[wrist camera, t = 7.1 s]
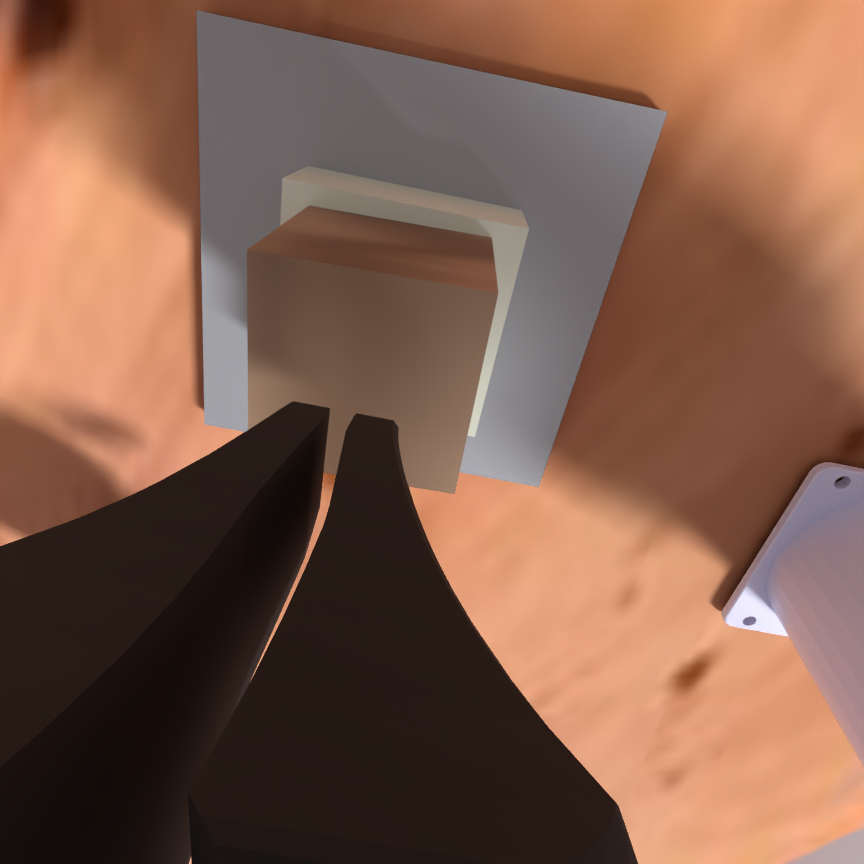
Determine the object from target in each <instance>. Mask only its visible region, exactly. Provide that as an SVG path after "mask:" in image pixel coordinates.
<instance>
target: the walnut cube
mask: <svg viewBox="0 0 864 864" xmlns="http://www.w3.org/2000/svg"><path fill="white" fill-rule="evenodd" d="M497 298H498V285H497V276H496V268H495V259H494V251H493V242H492V237H486V236H480V235H475V234H469V233H463V232H458V231H452V230H446V229H441V228H435V227H429V226H423V225H418V224H412V223H406V222H401V221H395V220H389V219H383V218H378V217H372V216H366V215H361V214H355V213H349V212H344V211H338V210H332V209H326V208H321V207H315V206H308V207H306V208H305V209H303V210H302V211H301V212H299V213H298V214H296V215H295V216H293V217H292V218H291V219H289V220H288V221H286V222H285V223H284V224H282V225H281V226H279V227H278V228H277V229H275V230H274V231H272V232H271V233H270V234H268V235H267V236H265V237H264V238H263V239H261V240H260V241H258V242H257V243H255V244H254V245H253V246H251V247H250V248H248V249H247V340H248V430H249V429H250V428H252V427H253V426H255V425H256V424H258V423H259V422H261V421H263V420H264V419H266V418H267V417H269V416H270V415H272V414H273V413H275V412H276V411H278V410H279V409H281V408H283V407H284V406H286V405H287V404H289V403H291V402H292V401H295V402H300V403H306V404H311V405H316V406H321V407H327V408H330V416H329V425H328V434H327V444H326V453H325V462H324V473H330V474H337V469H338V464H339V460H340V455H341V451H342V446H343V441H344V437H345V432H346V430H347V428H348V426H349V424H350V422H351V420H352V419H353V417H354V416H355V414H356V413H358V414H363V415H369V416H374V417H379V418H384V419H390V420H394V422H395V423H396V424H397V426H398V427H399V431H398V441H399V449H400V455H401V460H402V465H403V469H404V473H405V477H406V480H407V483H408V486H409V487H416V488H422V489H428V490H434V491H440V492H446V493H452V494H455V490H456V485H457V481H458V476H459V471H460V467H461V462H462V458H463V453H464V449H465V444H466V439H467V435H468V430H469V426H470V421H471V416H472V412H473V407H474V403H475V398H476V394H477V389H478V384H479V380H480V375H481V371H482V366H483V362H484V357H485V352H486V348H487V343H488V339H489V334H490V330H491V325H492V320H493V316H494V311H495V307H496V302H497Z"/></svg>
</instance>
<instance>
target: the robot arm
mask: <svg viewBox="0 0 864 864" xmlns="http://www.w3.org/2000/svg"><path fill="white" fill-rule="evenodd" d="M329 416H330V408H327V407H321V406H316V405H311V404H306V403H300V402H295V401H292V402H291V403H289V404H287V405H286V406H284V407H283V408H281V409H279V410H278V411H276V412H275V413H273V414H272V415H270V416H269V417H267V418H266V419H264V420H263V421H261V422H259V423H258V424H256V425H255V426H253V427H252V428H250V429H249V430H247V431H246V432H244V433H243V434H241V435H239V436H238V437H236V438H235V439H233V440H231V441H230V442H228V443H227V444H225V445H223V446H222V447H220V448H218V449H217V450H215V451H214V452H212V453H210V454H209V455H207V456H205V457H203V458H201V459H200V460H198V461H196V462H194V463H192V464H190V465H189V466H187V467H185V468H183V469H181V470H179V471H178V472H176V473H174V474H172V475H170V476H169V477H167V478H165V479H163V480H161V481H159V482H157V483H155V484H153V485H151V486H149V487H147V488H145V489H143V490H141V491H139V492H137V493H135V494H133V495H131V496H128V497H126V498H124V499H122V500H120V501H117V502H115V503H113V504H110V505H108V506H106V507H103V508H101V509H99V510H96V511H94V512H92V513H89V514H87V515H85V516H82V517H80V518H77V519H75V520H72V521H70V522H67V523H64V524H62V525H59V526H56V527H53V528H50V529H48V530H45V531H42V532H39V533H36V534H34V535H31V536H28V537H25V538H22V539H20V540H17V541H14V542H11V543H8V544H6V545H3V546H0V864H189V861H190V858H192V864H638V862H637V859H636V856H635V853H634V850H633V847H632V844H631V841H630V838H629V835H628V832H627V829H626V826H625V823H624V820H623V818H622V815H621V812H620V809H619V806H618V805H617V804H616V802H615V801H614V800H613V799H612V798H611V797H610V796H609V794H608V793H607V792H606V791H605V790H604V789H603V788H602V787H601V786H600V784H599V783H598V782H597V781H596V780H595V779H594V778H593V777H592V775H591V774H590V773H589V772H588V771H587V770H586V769H585V768H584V767H583V765H582V764H581V763H580V762H579V761H578V760H577V759H576V758H575V757H574V755H573V754H572V753H571V752H570V751H569V750H568V749H567V748H566V746H565V745H564V744H563V743H562V742H561V741H560V740H559V739H558V738H557V736H556V735H555V734H554V733H553V732H552V731H551V730H550V729H549V727H548V726H547V725H546V724H545V723H544V721H543V720H542V719H541V717H540V716H539V715H538V714H537V712H536V711H535V710H534V708H533V707H532V706H531V705H530V703H529V702H528V701H527V699H526V698H525V697H524V696H523V694H522V693H521V692H520V690H519V689H518V688H517V687H516V685H515V684H514V683H513V682H512V680H511V679H510V677H509V676H508V674H507V673H506V671H505V670H504V669H503V667H502V666H501V664H500V663H499V661H498V660H497V658H496V657H495V655H494V654H493V652H492V651H491V650H490V648H489V647H488V645H487V644H486V642H485V641H484V639H483V638H482V636H481V635H480V633H479V632H478V631H477V629H476V628H475V626H474V625H473V623H472V622H471V620H470V618H469V617H468V615H467V613H466V612H465V610H464V608H463V607H462V605H461V603H460V601H459V600H458V598H457V596H456V595H455V593H454V591H453V589H452V588H451V586H450V584H449V582H448V580H447V578H446V576H445V574H444V572H443V571H442V569H441V567H440V565H439V563H438V561H437V559H436V556H435V554H434V552H433V550H432V548H431V546H430V543H429V541H428V539H427V536H426V534H425V531H424V529H423V527H422V524H421V522H420V519H419V517H418V514H417V511H416V508H415V506H414V503H413V500H412V496H411V493H410V490H409V487H408V483H407V480H406V477H405V473H404V469H403V465H402V460H401V455H400V449H399V441H398V431H399V427H398V426H397V424H396V423H395V422H394V420H390V419H384V418H379V417H374V416H369V415H363V414H358V413H356V414H355V416H354V417H353V419H352V420H351V422H350V424H349V426H348V428H347V430H346V432H345V437H344V441H343V446H342V451H341V455H340V460H339V464H338V469H337V474H336V478H335V483H334V488H333V492H332V497H331V502H330V506H329V509H328V512H327V516H326V519H325V522H324V525H323V528H322V530H321V533H320V535H319V537H318V540H317V542H316V544H315V547H314V549H313V551H312V554H311V556H310V559H309V561H308V563H307V566H306V568H305V570H304V572H303V575H302V577H301V579H300V581H299V583H298V585H297V588H296V590H295V592H294V594H293V596H292V599H291V601H290V603H289V605H288V607H287V610H286V612H285V614H284V616H283V618H282V620H281V622H280V624H279V626H278V628H277V630H276V632H275V634H274V636H273V638H272V640H271V642H270V644H269V646H268V648H267V650H266V652H265V654H264V656H263V658H262V660H261V662H260V664H259V666H258V668H257V670H256V672H255V674H254V676H253V673H254V671H255V669H256V667H257V664H258V662H259V660H260V658H261V655H262V653H263V651H264V649H265V647H266V644H267V642H268V640H269V638H270V635H271V633H272V631H273V629H274V626H275V624H276V622H277V620H278V617H279V615H280V613H281V611H282V608H283V606H284V604H285V602H286V599H287V597H288V595H289V593H290V590H291V588H292V586H293V583H294V581H295V579H296V577H297V574H298V572H299V570H300V567H301V565H302V563H303V560H304V558H305V555H306V551H307V548H308V545H309V542H310V538H311V535H312V532H313V528H314V525H315V522H316V518H317V515H318V511H319V508H320V500H321V490H322V481H323V472H324V462H325V453H326V444H327V434H328V425H329ZM842 476H844V478H843V479H842V480H840V481H838V482H835V481H836V480H837V479H838V478H840V477H842ZM721 614H722V617H723V619H724V621H725V623H726V624H727V625H730V626H733V627H739V628H744V629H750V630H755V631H761V632H766V633H772V634H777V635H783V636H788V637H789V638H790V640H791V641H792V643H793V645H794V647H795V648H796V650H797V652H798V654H799V655H800V657H801V659H802V661H803V662H804V664H805V666H806V668H807V669H808V671H809V673H810V675H811V676H812V678H813V680H814V682H815V683H816V685H817V687H818V689H819V690H820V692H821V694H822V696H823V697H824V699H825V701H826V703H827V704H828V706H829V708H830V710H831V711H832V713H833V715H834V717H835V718H836V720H837V722H838V723H839V725H840V727H841V729H842V730H843V732H844V734H845V736H846V737H847V739H848V741H849V743H850V744H851V746H852V748H853V750H854V751H855V753H856V755H857V757H858V758H859V760H860V762H861V764H862V765H863V767H864V469H862V468H857V467H852V466H847V465H842V464H837V463H831V462H824V463H821V464H818V465H816V466H815V467H813V468H812V470H811V471H810V472H809V473H808V475H807V477H806V478H805V480H804V481H803V483H802V485H801V486H800V488H799V489H798V491H797V492H796V494H795V496H794V497H793V499H792V500H791V502H790V504H789V505H788V507H787V508H786V510H785V512H784V513H783V515H782V516H781V518H780V520H779V521H778V523H777V524H776V526H775V527H774V529H773V531H772V532H771V534H770V535H769V537H768V539H767V540H766V542H765V543H764V545H763V547H762V548H761V550H760V551H759V553H758V554H757V556H756V558H755V559H754V561H753V562H752V564H751V566H750V567H749V569H748V570H747V572H746V574H745V575H744V577H743V578H742V580H741V581H740V583H739V585H738V586H737V588H736V589H735V591H734V593H733V594H732V596H731V597H730V599H729V601H728V602H727V604H726V605H725V607H724V609H723V610H722V613H721ZM746 617H747V618H746ZM252 676H253V678H252ZM251 678H252V680H251ZM250 680H251V682H250ZM249 683H250V684H249Z"/></svg>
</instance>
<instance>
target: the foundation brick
mask: <svg viewBox="0 0 864 864" xmlns="http://www.w3.org/2000/svg"><path fill="white" fill-rule="evenodd" d="M308 206H315V207H321V208H326V209H332V210H338V211H344V212H349V213H355V214H361V215H366V216H372V217H378V218H383V219H389V220H395V221H401V222H406V223H412V224H418V225H423V226H429V227H435V228H441V229H446V230H452V231H458V232H463V233H469V234H475V235H480V236H486V237H492V242H493V251H494V259H495V268H496V276H497V285H498V298H497V302H496V307H495V311H494V316H493V320H492V325H491V330H490V334H489V339H488V343H487V348H486V352H485V357H484V362H483V366H482V371H481V375H480V380H479V384H478V389H477V394H476V398H475V403H474V407H473V412H472V416H471V421H470V426H469V430H468V435H467V436H472V437H475V435H476V431H477V427H478V423H479V419H480V415H481V412H482V408H483V404H484V400H485V396H486V392H487V389H488V385H489V381H490V377H491V373H492V369H493V365H494V362H495V358H496V354H497V350H498V346H499V342H500V339H501V335H502V331H503V327H504V323H505V319H506V315H507V312H508V308H509V304H510V300H511V296H512V292H513V289H514V285H515V281H516V277H517V273H518V269H519V265H520V262H521V258H522V254H523V250H524V246H525V242H526V239H527V235H528V231H529V227H528V225H527V222H526V220H525V217H524V214H523V212H522V210H519V209H514V208H509V207H505V206H500V205H495V204H490V203H485V202H480V201H475V200H471V199H466V198H461V197H456V196H451V195H446V194H442V193H437V192H432V191H427V190H422V189H417V188H413V187H408V186H403V185H398V184H393V183H388V182H384V181H379V180H374V179H369V178H364V177H359V176H355V175H350V174H345V173H340V172H335V171H330V170H326V169H321V168H316V167H311V166H307V167H305V168H303V169H301V170H298V171H296V172H294V173H292V174H290V175H288V176H286V177H283V178H282V198H281V219H280V226H281V225H282V224H284V223H285V222H286V221H288V220H289V219H291V218H292V217H293V216H295V215H296V214H298V213H299V212H301V211H302V210H303V209H305V208H306V207H308Z"/></svg>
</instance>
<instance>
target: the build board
mask: <svg viewBox="0 0 864 864" xmlns="http://www.w3.org/2000/svg"><path fill="white" fill-rule="evenodd" d="M196 17H197V67H198V118H199V168H200V219H201V270H202V320H203V371H204V421H205V424H206V425H211V426H217V427H222V428H227V429H233V430H238V431H243V432H246V431H247V430H248V340H247V249H248V248H250V247H251V246H253V245H254V244H255V243H257V242H258V241H260V240H261V239H263V238H264V237H265V236H267V235H268V234H270V233H271V232H272V231H274V230H275V229H277V228H278V227H279V226H280V219H281V198H282V178H283V177H286V176H288V175H290V174H292V173H294V172H296V171H298V170H301V169H303V168H305V167H307V166H311V167H316V168H321V169H326V170H330V171H335V172H340V173H345V174H350V175H355V176H359V177H364V178H369V179H374V180H379V181H384V182H388V183H393V184H398V185H403V186H408V187H413V188H417V189H422V190H427V191H432V192H437V193H442V194H446V195H451V196H456V197H461V198H466V199H471V200H475V201H480V202H485V203H490V204H495V205H500V206H505V207H509V208H514V209H519V210H522V212H523V214H524V217H525V220H526V222H527V225H528V227H529V231H528V235H527V239H526V242H525V246H524V250H523V254H522V258H521V262H520V265H519V269H518V273H517V277H516V281H515V285H514V289H513V292H512V296H511V300H510V304H509V308H508V312H507V315H506V319H505V323H504V327H503V331H502V335H501V339H500V342H499V346H498V350H497V354H496V358H495V362H494V365H493V369H492V373H491V377H490V381H489V385H488V389H487V392H486V396H485V400H484V404H483V408H482V412H481V415H480V419H479V423H478V427H477V431H476V435H475V437H472V436H467V439H466V444H465V449H464V453H463V458H462V462H461V467H460V471H459V472H461V473H466V474H472V475H477V476H482V477H488V478H493V479H498V480H504V481H509V482H514V483H520V484H525V485H530V486H535V487H539V484H540V482H541V479H542V476H543V473H544V470H545V467H546V464H547V461H548V458H549V455H550V452H551V450H552V447H553V444H554V441H555V438H556V435H557V432H558V429H559V426H560V423H561V420H562V418H563V415H564V412H565V409H566V406H567V403H568V400H569V397H570V394H571V391H572V388H573V386H574V383H575V380H576V377H577V374H578V371H579V368H580V365H581V362H582V359H583V356H584V354H585V351H586V348H587V345H588V342H589V339H590V336H591V333H592V330H593V327H594V324H595V322H596V319H597V316H598V313H599V310H600V307H601V304H602V301H603V298H604V295H605V292H606V290H607V287H608V284H609V281H610V278H611V275H612V272H613V269H614V266H615V263H616V260H617V258H618V255H619V252H620V249H621V246H622V243H623V240H624V237H625V234H626V231H627V228H628V226H629V223H630V220H631V217H632V214H633V211H634V208H635V205H636V202H637V199H638V196H639V194H640V191H641V188H642V185H643V182H644V179H645V176H646V173H647V170H648V167H649V164H650V161H651V159H652V156H653V153H654V150H655V147H656V144H657V141H658V138H659V135H660V132H661V129H662V127H663V124H664V121H665V118H666V115H667V111H662V110H658V109H653V108H648V107H644V106H639V105H634V104H630V103H625V102H621V101H616V100H611V99H607V98H602V97H597V96H593V95H588V94H583V93H579V92H574V91H569V90H565V89H560V88H556V87H551V86H546V85H542V84H537V83H532V82H528V81H523V80H518V79H514V78H509V77H505V76H500V75H495V74H491V73H486V72H481V71H477V70H472V69H467V68H463V67H458V66H454V65H449V64H444V63H440V62H435V61H430V60H426V59H421V58H416V57H412V56H407V55H403V54H398V53H393V52H389V51H384V50H379V49H375V48H370V47H365V46H361V45H356V44H351V43H347V42H342V41H338V40H333V39H328V38H324V37H319V36H314V35H310V34H305V33H300V32H296V31H291V30H287V29H282V28H277V27H273V26H268V25H263V24H259V23H254V22H249V21H245V20H240V19H236V18H231V17H226V16H222V15H217V14H212V13H208V12H203V11H198V10H196Z"/></svg>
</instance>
